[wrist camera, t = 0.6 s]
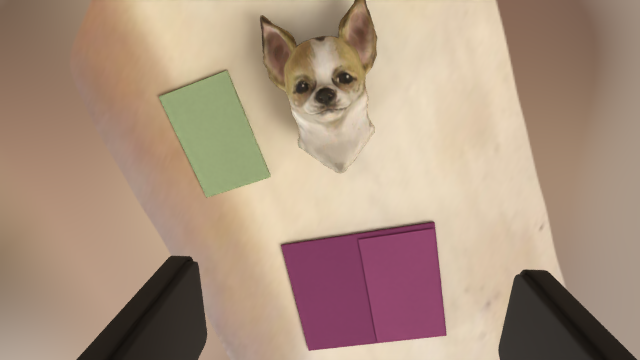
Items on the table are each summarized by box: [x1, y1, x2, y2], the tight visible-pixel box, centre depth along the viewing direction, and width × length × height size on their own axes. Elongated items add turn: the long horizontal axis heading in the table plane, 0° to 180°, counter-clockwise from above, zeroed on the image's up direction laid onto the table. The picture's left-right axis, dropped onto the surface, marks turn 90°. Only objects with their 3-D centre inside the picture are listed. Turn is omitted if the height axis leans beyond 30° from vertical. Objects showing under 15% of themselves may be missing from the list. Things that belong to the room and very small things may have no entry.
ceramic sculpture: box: [260, 0, 377, 174], centre depth 30 cm, size 11×9×15 cm
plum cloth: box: [281, 222, 446, 351], centre depth 41 cm, size 16×18×1 cm
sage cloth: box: [159, 71, 271, 197], centre depth 37 cm, size 12×8×1 cm, turn 19°
